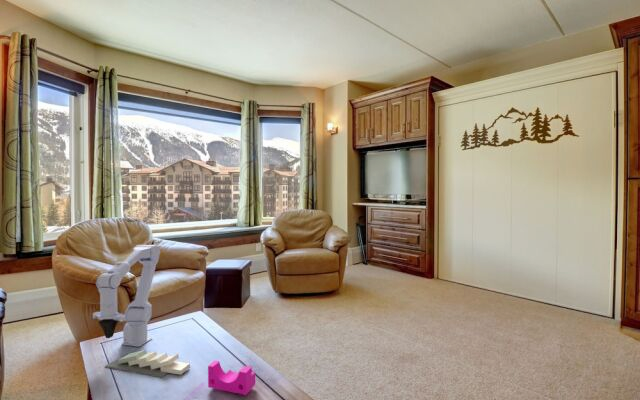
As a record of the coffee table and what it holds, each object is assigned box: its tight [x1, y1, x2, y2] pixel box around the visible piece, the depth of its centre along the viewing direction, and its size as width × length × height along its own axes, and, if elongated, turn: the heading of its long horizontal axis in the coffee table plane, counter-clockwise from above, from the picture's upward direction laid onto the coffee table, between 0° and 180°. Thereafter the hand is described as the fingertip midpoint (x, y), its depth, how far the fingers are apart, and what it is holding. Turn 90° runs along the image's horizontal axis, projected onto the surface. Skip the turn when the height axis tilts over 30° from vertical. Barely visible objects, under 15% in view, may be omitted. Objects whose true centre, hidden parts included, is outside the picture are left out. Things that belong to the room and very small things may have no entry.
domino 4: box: [161, 360, 191, 375], centre depth 121 cm, size 2×5×9 cm
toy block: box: [207, 360, 256, 396], centre depth 112 cm, size 15×6×8 cm, turn 73°
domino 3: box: [150, 353, 180, 370], centre depth 122 cm, size 2×5×9 cm
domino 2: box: [139, 352, 169, 368], centre depth 124 cm, size 2×5×9 cm
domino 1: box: [128, 350, 158, 366], centre depth 125 cm, size 2×5×9 cm
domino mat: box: [104, 353, 169, 378], centre depth 125 cm, size 27×10×1 cm, turn 75°
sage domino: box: [118, 349, 147, 364], centre depth 127 cm, size 2×5×9 cm
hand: (109, 337), depth 127 cm, fingers closed
